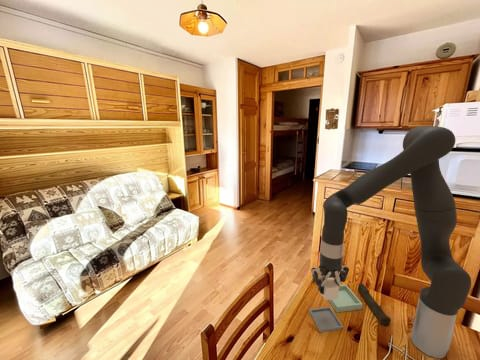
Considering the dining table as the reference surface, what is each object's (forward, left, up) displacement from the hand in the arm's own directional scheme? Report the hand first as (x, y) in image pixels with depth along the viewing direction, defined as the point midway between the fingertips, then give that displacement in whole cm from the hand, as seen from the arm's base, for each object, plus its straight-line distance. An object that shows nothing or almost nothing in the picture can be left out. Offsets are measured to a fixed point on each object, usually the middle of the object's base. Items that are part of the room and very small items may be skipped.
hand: (328, 291), depth 79 cm
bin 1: (0, 0, -14) cm, 14 cm away
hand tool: (-22, -4, -14) cm, 26 cm away
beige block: (0, 0, -1) cm, 1 cm away
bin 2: (-12, -8, -14) cm, 20 cm away
